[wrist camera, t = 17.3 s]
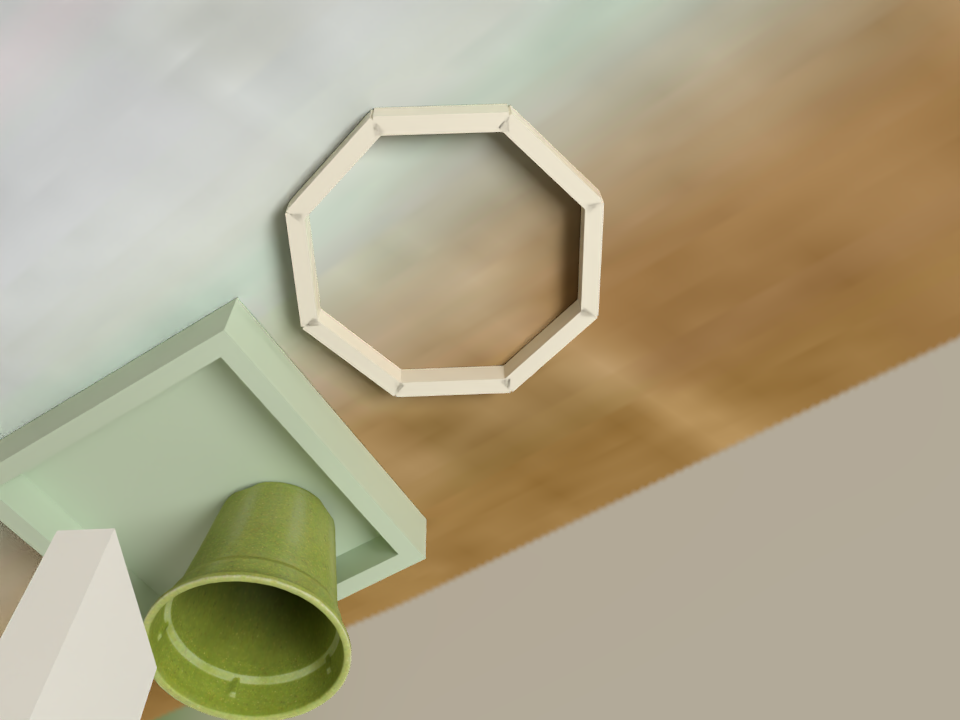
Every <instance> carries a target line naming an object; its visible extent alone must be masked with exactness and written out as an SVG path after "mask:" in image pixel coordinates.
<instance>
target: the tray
mask: <svg viewBox="0 0 960 720" xmlns="http://www.w3.org/2000/svg"><path fill="white" fill-rule="evenodd" d="M262 482H281V483H287V484H292V485H295V486H298V487H301V488H303V489H305V490H307V491H309V492H311V493H312V494H314V495H315V496H316V497H318V498H319V499H320V501H321V502H322V504H323V505H324V507H325V508H326V510H327V511H328V512H329V514H330V515H331V517H332V518H333V520H334V523H335V541H336V575H337V601H339V600H341V599H343V598H345V597H347V596H349V595H351V594H353V593H355V592H357V591H359V590H361V589H364V588H366V587H368V586H370V585H372V584H374V583H376V582H378V581H380V580H382V579H384V578H386V577H388V576H390V575H393V574H395V573H397V572H399V571H401V570H403V569H405V568H407V567H409V566H411V565H413V564H415V563H417V562H420V561H422V560H424V559H426V518H425V517H424V516H423V515H422V514H421V513H420V511H419V510H418V509H417V508H416V507H415V506H414V504H413V503H412V502H411V501H410V500H409V499H408V497H407V496H406V495H405V494H404V493H403V491H402V490H401V489H400V488H399V487H398V486H397V484H396V483H395V482H394V481H393V480H392V479H391V477H390V476H389V475H388V474H387V473H386V472H385V470H384V469H383V468H382V467H381V466H380V465H379V463H378V462H377V461H376V460H375V459H374V457H373V456H372V455H371V454H370V453H369V452H368V450H367V449H366V448H365V447H364V446H363V445H362V443H361V442H360V441H359V440H358V439H357V438H356V436H355V435H354V434H353V433H352V432H351V431H350V429H349V428H348V427H347V426H346V425H345V423H344V422H343V421H342V420H341V419H340V418H339V416H338V415H337V414H336V413H335V412H334V411H333V409H332V408H331V407H330V406H329V405H328V404H327V402H326V401H325V400H324V399H323V398H322V397H321V395H320V394H319V393H318V392H317V391H316V389H315V388H314V387H313V386H312V385H311V384H310V382H309V381H308V380H307V379H306V378H305V377H304V375H303V374H302V373H301V372H300V371H299V370H298V368H297V367H296V366H295V365H294V364H293V363H292V361H291V360H290V359H289V358H288V357H287V355H286V354H285V353H284V352H283V351H282V350H281V348H280V347H279V346H278V345H277V344H276V343H275V341H274V340H273V339H272V338H271V337H270V336H269V334H268V333H267V332H266V331H265V330H264V329H263V327H262V326H261V325H260V324H259V323H258V321H257V320H256V319H255V318H254V317H253V316H252V314H251V313H250V312H249V311H248V310H247V309H246V307H245V306H244V305H243V304H242V303H241V302H240V300H239V299H238V298H236V299H234V300H233V301H231V302H229V303H228V304H226V305H224V306H223V307H221V308H219V309H218V310H216V311H214V312H213V313H211V314H209V315H208V316H206V317H204V318H203V319H201V320H199V321H198V322H196V323H194V324H193V325H191V326H189V327H188V328H186V329H184V330H183V331H181V332H179V333H178V334H176V335H174V336H173V337H171V338H169V339H168V340H166V341H164V342H163V343H161V344H159V345H158V346H156V347H154V348H153V349H151V350H149V351H148V352H146V353H144V354H143V355H141V356H139V357H138V358H136V359H134V360H133V361H131V362H129V363H128V364H126V365H124V366H123V367H121V368H119V369H118V370H116V371H114V372H113V373H111V374H109V375H108V376H106V377H104V378H103V379H101V380H99V381H98V382H96V383H94V384H93V385H91V386H89V387H88V388H86V389H84V390H83V391H81V392H79V393H78V394H76V395H74V396H73V397H71V398H69V399H68V400H66V401H64V402H63V403H61V404H59V405H58V406H56V407H54V408H53V409H51V410H49V411H48V412H46V413H44V414H43V415H41V416H39V417H38V418H36V419H34V420H33V421H31V422H29V423H28V424H26V425H24V426H23V427H21V428H20V429H18V430H16V431H15V432H13V433H11V434H10V435H8V436H6V437H5V438H3V439H1V440H0V521H1V522H3V523H4V524H5V525H6V526H7V527H9V528H10V529H11V530H12V531H13V532H14V533H16V534H17V535H18V536H19V537H20V538H22V539H23V540H24V541H25V542H26V543H28V544H29V545H30V546H31V547H32V548H34V549H35V550H36V551H37V552H38V553H39V554H41V555H42V556H44V554H45V553H46V551H47V549H48V547H49V545H50V543H51V541H52V539H53V537H54V535H55V533H56V532H57V531H60V530H85V529H110V528H115V531H116V534H117V538H118V541H119V544H120V547H121V551H122V554H123V557H124V561H125V564H126V567H127V571H128V574H129V577H130V580H131V584H132V587H133V590H134V594H135V597H136V600H137V603H138V607H139V610H140V613H141V617H142V620H143V621H144V619H145V617H146V615H147V613H148V611H149V609H150V608H151V607H152V605H153V604H154V603H155V602H156V600H157V599H158V598H159V597H161V596H162V595H163V594H164V593H165V592H167V591H168V590H169V589H171V588H172V587H173V586H174V585H175V584H176V583H177V582H178V581H179V580H180V579H181V578H182V577H183V576H184V574H185V572H186V571H187V569H188V567H189V565H190V564H191V562H192V560H193V558H194V557H195V555H196V553H197V551H198V550H199V548H200V546H201V544H202V542H203V541H204V539H205V537H206V535H207V533H208V531H209V529H210V528H211V526H212V524H213V522H214V520H215V518H216V516H217V515H218V513H219V511H220V509H221V508H222V506H223V504H224V503H225V501H226V500H227V499H228V498H229V497H230V496H231V495H232V494H234V493H235V492H238V491H241V490H244V489H247V488H250V487H252V486H255V485H257V484H259V483H262Z"/></svg>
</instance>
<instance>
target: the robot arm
mask: <svg viewBox="0 0 960 720" xmlns="http://www.w3.org/2000/svg"><path fill="white" fill-rule="evenodd" d="M156 669H157V666H156V663H155V660H154V656H153V653H152V650H151V646H150V643H149V640H148V636H147V633H146V630H145V627H144V623H143V620H142V617H141V613H140V610H139V607H138V603H137V600H136V597H135V594H134V590H133V587H132V584H131V580H130V577H129V574H128V571H127V567H126V564H125V561H124V557H123V554H122V551H121V547H120V544H119V541H118V538H117V534H116V531H115V528H110V529H85V530H60V531H57V532H56V533H55V535H54V537H53V539H52V541H51V543H50V545H49V547H48V549H47V551H46V553H45V554H44V556H43V558H42V560H41V562H40V564H39V566H38V568H37V570H36V572H35V574H34V575H33V577H32V579H31V581H30V583H29V585H28V587H27V589H26V591H25V593H24V595H23V596H22V598H21V600H20V602H19V604H18V606H17V608H16V610H15V612H14V614H13V616H12V617H11V619H10V621H9V623H8V625H7V627H6V629H5V631H4V633H3V635H2V637H1V638H0V720H140V718H141V715H142V712H143V709H144V706H145V703H146V700H147V697H148V694H149V691H150V688H151V685H152V682H153V678H154V675H155V672H156Z"/></svg>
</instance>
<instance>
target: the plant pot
mask: <svg viewBox="0 0 960 720" xmlns="http://www.w3.org/2000/svg"><path fill="white" fill-rule="evenodd" d="M143 623H144V627H145V630H146V633H147V636H148V640H149V643H150V646H151V650H152V653H153V656H154V660H155V663H156V666H157V669H156V672H155V675H154V679H155V681H156V682H157V683H158V685H159V686H160V687H161V688H162V689H164V690H165V691H166V692H167V693H168V694H169V695H171V696H172V697H174V698H175V699H176V700H178V701H180V702H181V703H183V704H185V705H187V706H189V707H191V708H193V709H195V710H198V711H200V712H202V713H205V714H207V715H210V716H214V717H218V718H223V719H227V720H282V719H286V718H292V717H295V716H298V715H301V714H304V713H306V712H309V711H311V710H313V709H315V708H316V707H318V706H320V705H322V704H323V703H325V702H326V701H327V700H329V699H330V698H331V697H332V696H333V695H334V694H335V693H336V692H337V691H338V690H339V688H340V687H341V686H342V685H343V683H344V682H345V680H346V678H347V675H348V672H349V669H350V666H351V644H350V639H349V636H348V633H347V631H346V628H345V626H344V624H343V623H342V619H341V615H340V612H339V609H338V603H337V575H336V541H335V523H334V520H333V518H332V517H331V515H330V514H329V512H328V511H327V510H326V508H325V507H324V505H323V504H322V502H321V501H320V499H319V498H318V497H316V496H315V495H314V494H312V493H311V492H309V491H307V490H305V489H303V488H301V487H298V486H295V485H292V484H287V483H281V482H262V483H259V484H257V485H255V486H252V487H250V488H247V489H244V490H241V491H238V492H235V493H234V494H232V495H231V496H230V497H229V498H228V499H227V500H226V501H225V503H224V504H223V506H222V508H221V509H220V511H219V513H218V515H217V516H216V518H215V520H214V522H213V524H212V526H211V528H210V529H209V531H208V533H207V535H206V537H205V539H204V541H203V542H202V544H201V546H200V548H199V550H198V551H197V553H196V555H195V557H194V558H193V560H192V562H191V564H190V565H189V567H188V569H187V571H186V572H185V574H184V576H183V577H182V578H181V579H180V580H179V581H178V582H177V583H176V584H175V585H174V586H173V587H172V588H171V589H169V590H168V591H167V592H165V593H164V594H163V595H162V596H161V597H159V598H158V599H157V600H156V602H155V603H154V604H153V605H152V607H151V608H150V609H149V611H148V613H147V615H146V617H145V619H144V621H143Z"/></svg>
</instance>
